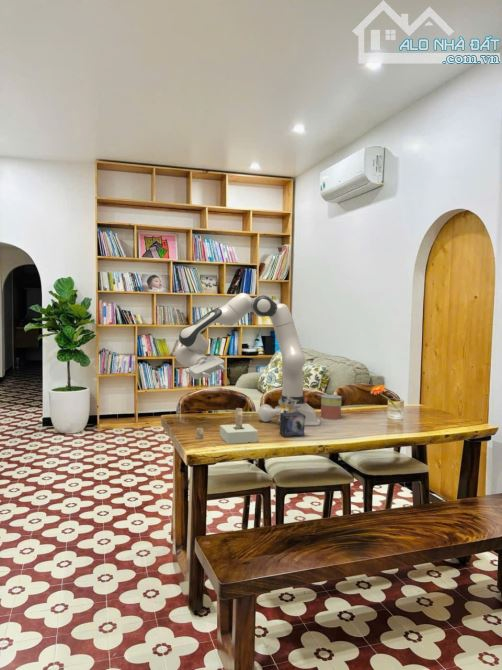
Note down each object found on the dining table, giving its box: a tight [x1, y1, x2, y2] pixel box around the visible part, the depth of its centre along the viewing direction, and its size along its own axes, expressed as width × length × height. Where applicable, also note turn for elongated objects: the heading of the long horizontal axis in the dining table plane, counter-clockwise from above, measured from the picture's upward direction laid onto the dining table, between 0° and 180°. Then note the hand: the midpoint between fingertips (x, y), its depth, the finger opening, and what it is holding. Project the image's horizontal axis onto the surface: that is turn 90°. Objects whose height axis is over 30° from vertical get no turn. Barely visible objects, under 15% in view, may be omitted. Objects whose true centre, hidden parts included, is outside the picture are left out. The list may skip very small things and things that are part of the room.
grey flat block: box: [219, 423, 259, 445], centre depth 221 cm, size 14×14×5 cm
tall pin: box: [235, 407, 243, 430], centre depth 221 cm, size 3×3×14 cm
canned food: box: [320, 394, 343, 421], centre depth 269 cm, size 11×11×12 cm
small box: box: [278, 412, 305, 438], centre depth 229 cm, size 11×6×10 cm, turn 106°
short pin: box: [195, 427, 204, 440], centre depth 220 cm, size 3×3×4 cm
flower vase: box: [257, 394, 300, 423], centre depth 250 cm, size 13×18×25 cm
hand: (218, 373), depth 237 cm, fingers open, 8 cm apart
